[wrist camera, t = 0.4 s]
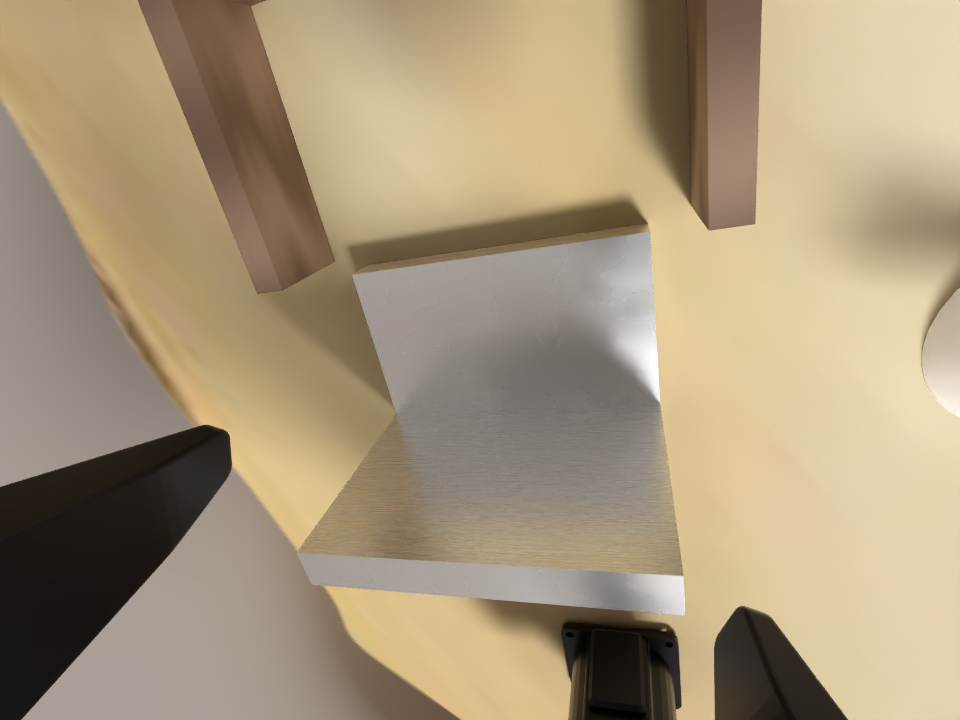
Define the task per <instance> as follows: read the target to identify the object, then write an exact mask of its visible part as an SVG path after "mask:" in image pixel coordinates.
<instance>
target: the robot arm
mask: <svg viewBox="0 0 960 720" xmlns="http://www.w3.org/2000/svg"><path fill="white" fill-rule="evenodd" d="M231 467H232V459H231V446H230V436H229V434H228V432H227V431H225V430H223V429H220V428H217V427H214V426H211V425H202V426H198V427H195V428H191V429H188V430H185V431H182V432H178V433H175V434H172V435H168V436H165V437H162V438H159V439H155V440H152V441H149V442H146V443H142V444H139V445H136V446H133V447H129V448H126V449H123V450H119V451H116V452H113V453H110V454H106V455H103V456H100V457H97V458H94V459H90V460H87V461H84V462H80V463H77V464H74V465H71V466H68V467H64V468H61V469H58V470H54V471H51V472H47V473H44V474H41V475H38V476H35V477H31V478H28V479H25V480H22V481H18V482H15V483H11V484H9V485H5V486H2V487H0V720H21V719H22V718H23V717H24V716H25V715H26V714H27V713H28V711H30V709H31V708H32V707H33V706H34V705H35V704H36V703H37V702H38V700H39V699H40V698H41V697H42V696H43V695H44V694H45V693H46V692H47V690H48V689H49V688H50V687H51V686H52V685H53V684H54V683H55V682H56V681H57V679H58V678H59V677H60V676H61V675H62V674H63V673H64V672H65V671H66V669H67V668H68V667H69V666H70V665H71V664H72V663H73V662H74V661H75V659H76V658H77V657H78V656H79V655H80V654H81V653H82V652H83V650H84V649H85V648H86V647H87V646H88V645H89V644H90V643H91V642H92V640H93V639H94V638H95V637H96V636H97V635H98V634H99V632H101V630H102V629H103V628H104V627H105V626H106V625H107V624H108V623H109V622H110V620H111V619H112V618H113V617H114V616H115V615H116V614H117V613H118V612H119V610H120V609H121V608H122V607H123V606H124V605H125V604H126V603H127V602H128V600H129V599H130V598H131V597H132V596H133V595H134V594H135V593H136V591H137V590H138V589H139V588H140V587H141V586H142V585H143V584H144V583H145V581H146V580H147V579H148V578H149V577H150V576H151V575H152V573H154V572H155V570H156V569H157V568H158V567H159V566H160V565H161V564H162V563H163V561H164V560H165V559H166V558H167V557H168V556H169V555H170V553H171V552H172V551H173V550H174V548H175V547H176V546H177V545H178V543H179V542H180V541H181V540H182V538H183V537H184V536H185V534H186V533H187V532H188V530H189V529H190V528H191V526H192V525H193V524H194V522H195V521H196V520H197V518H198V517H199V516H200V514H201V513H202V512H203V510H204V509H205V508H206V506H207V505H208V503H209V502H210V501H211V499H212V498H213V497H214V495H215V494H216V493H217V491H218V490H219V488H220V487H221V486H222V485H223V483H224V482H225V481H226V479H227V477H228V476H229V474H230V471H231ZM561 634H562V640H563V645H564V650H565V655H566V660H567V665H568V670H569V675H570V680H571V695H570V707H569V719H568V720H677V718H676V709H679V708H680V707H681V705H682V704H681V686H680V667H679V648H678V638H677V636H676V635H675V634H673V633H669V632H661V631H650V630H640V629H629V628H618V627H608V626H597V625H586V624H576V623H565V624H563V625H562V633H561ZM714 682H715V720H848V719H847V718H846V716H845V715H844V714H843V712H842V711H841V710H840V708H839V707H838V706H837V704H836V703H835V702H834V700H833V699H832V698H831V696H830V695H829V694H828V692H827V691H826V690H825V688H824V687H823V686H822V684H821V683H820V682H819V680H818V679H817V678H816V676H815V675H814V674H813V672H812V671H811V670H810V668H809V667H808V666H807V664H806V663H805V662H804V660H803V659H802V658H801V656H800V655H799V654H798V652H797V651H796V650H795V648H794V647H793V646H792V644H791V643H790V642H789V640H788V639H787V638H786V636H785V635H784V634H783V632H782V631H781V630H780V628H779V627H778V626H777V624H776V623H775V622H774V620H773V619H772V618H771V617H770V616H769V615H767V614H765V613H763V612H760V611H757V610H754V609H751V608H748V607H745V606H741V607H738V608H737V609H736V610H735V611H734V612H733V614H732V615H731V617H730V618H729V620H728V621H727V622H726V624H725V625H724V627H723V628H722V629H721V631H720V632H719V634H718V636H717V638H716V641H715V646H714Z"/></svg>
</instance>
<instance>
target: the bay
mask: <svg viewBox="0 0 960 720" xmlns="http://www.w3.org/2000/svg"><path fill="white" fill-rule="evenodd" d="M263 1H265V0H138V2H139V5H140V7H141V10H142V12H143V15H144V17H145V20H146V22H147V24H148V27H149V29H150V32H151V34H152V37H153V39H154V42H155V44H156V47H157V49H158V51H159V54H160V56H161V59H162V61H163V64H164V66H165V69H166V71H167V73H168V76H169V78H170V81H171V83H172V86H173V88H174V91H175V93H176V96H177V98H178V100H179V103H180V105H181V108H182V110H183V113H184V115H185V118H186V120H187V122H188V125H189V127H190V130H191V132H192V135H193V137H194V140H195V142H196V145H197V147H198V149H199V152H200V154H201V157H202V159H203V162H204V164H205V167H206V169H207V171H208V174H209V176H210V179H211V181H212V184H213V186H214V189H215V191H216V193H217V196H218V198H219V201H220V203H221V206H222V208H223V211H224V213H225V216H226V218H227V220H228V223H229V225H230V228H231V230H232V233H233V235H234V238H235V240H236V242H237V245H238V247H239V250H240V252H241V255H242V257H243V260H244V262H245V265H246V267H247V269H248V272H249V274H250V277H251V279H252V282H253V284H254V287H255V289H256V291H257V294H260V293H267V292H274V291H281V290H284V289H286V288H288V287H290V286H291V285H293V284H295V283H297V282H299V281H300V280H302V279H304V278H306V277H308V276H309V275H311V274H313V273H315V272H317V271H319V270H320V269H322V268H324V267H326V266H328V265H329V264H331V263H333V262H335V261H334V258H333V255H332V252H331V249H330V246H329V243H328V240H327V237H326V234H325V231H324V228H323V225H322V222H321V219H320V216H319V212H318V209H317V206H316V203H315V200H314V197H313V194H312V191H311V188H310V185H309V182H308V179H307V176H306V173H305V170H304V167H303V164H302V161H301V158H300V155H299V152H298V149H297V146H296V143H295V140H294V137H293V134H292V131H291V128H290V125H289V122H288V119H287V116H286V113H285V110H284V107H283V104H282V101H281V98H280V95H279V91H278V88H277V85H276V82H275V79H274V76H273V73H272V70H271V67H270V64H269V61H268V58H267V55H266V52H265V49H264V46H263V43H262V40H261V37H260V34H259V31H258V28H257V25H256V22H255V19H254V16H253V13H252V10H251V7H250V6H252V5H254V4H257V3H260V2H263ZM761 10H762V0H687V37H688V81H689V124H690V167H691V206H692V207H693V209H694V210H695V212H696V213H697V215H698V216H699V217H700V219H701V220H702V222H703V223H704V224H705V226H706V227H707V229H708V230H716V229H723V228H730V227H737V226H744V225H752V224H755V213H756V179H757V145H758V111H759V78H760V44H761Z"/></svg>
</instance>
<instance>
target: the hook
mask: <svg viewBox="0 0 960 720" xmlns="http://www.w3.org/2000/svg"><path fill="white" fill-rule="evenodd" d="M922 369H923V374H924V378H925V382H926V384H927V386H928V387H929V389H930V391H931V393H932V394H933V396H934V398H935V399H936V400H937V401H938V402H939V403H940V404H941V405H942V406H943V407H944V408H945V409H946V410H948V411H949V412H951V413H953V414H954V415H956V416H958V417H959V418H960V288H959V289H958V290H956V291H955V293H954V294H953V295H952V296H951V297H950V298H949V300H948V301H947V302H946V303H945V304H944V305H943V307H942V308H941V309H940V310H939V312H938V314H937V315H936V317H935V319H934V321H933V322H932V324H931V326H930V328H929V330H928V333H927V336H926V339H925V342H924V345H923V350H922Z"/></svg>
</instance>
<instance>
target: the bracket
mask: <svg viewBox="0 0 960 720" xmlns="http://www.w3.org/2000/svg"><path fill="white" fill-rule="evenodd" d="M352 277H353V280H354V284H355V287H356V290H357V293H358V296H359V299H360V302H361V305H362V309H363V312H364V315H365V318H366V321H367V324H368V327H369V330H370V334H371V337H372V340H373V343H374V346H375V349H376V352H377V356H378V359H379V362H380V365H381V368H382V371H383V374H384V377H385V381H386V384H387V387H388V390H389V393H390V396H391V399H392V402H393V406H394V409H395V412H396V415H395V417H394V418H393V420H392V421H391V422H390V424H389V425H388V426H387V428H386V429H385V431H384V432H383V433H382V435H381V436H380V438H379V439H378V440H377V442H376V443H375V445H374V446H373V447H372V449H371V450H370V451H369V453H368V454H367V456H366V457H365V458H364V460H363V461H362V463H361V464H360V465H359V467H358V468H357V470H356V471H355V472H354V474H353V475H352V476H351V478H350V479H349V481H348V482H347V483H346V485H345V486H344V488H343V489H342V490H341V492H340V493H339V494H338V496H337V497H336V499H335V500H334V501H333V503H332V504H331V506H330V507H329V508H328V510H327V511H326V513H325V514H324V515H323V517H322V518H321V519H320V521H319V522H318V524H317V525H316V526H315V528H314V529H313V531H312V532H311V533H310V535H309V536H308V538H307V539H306V540H305V542H304V543H303V544H302V546H301V547H300V549H299V550H298V551H297V555H298V557H299V559H300V561H301V564H302V565H303V568H304V569H305V572H306V574H307V576H308V578H309V580H310V582H311V584H312V585H323V586H335V587H347V588H359V589H371V590H383V591H395V592H408V593H420V594H432V595H444V596H456V597H468V598H480V599H492V600H504V601H516V602H528V603H540V604H552V605H564V606H576V607H589V608H601V609H613V610H625V611H637V612H649V613H661V614H673V615H685V599H684V576H683V569H682V561H681V554H680V546H679V539H678V532H677V524H676V517H675V510H674V502H673V495H672V487H671V480H670V473H669V465H668V458H667V451H666V443H665V436H664V428H663V421H662V414H661V406H660V393H659V376H658V359H657V341H656V324H655V307H654V290H653V273H652V255H651V238H650V229H649V225H648V223H647V224H640V225H634V226H627V227H620V228H613V229H607V230H600V231H593V232H587V233H580V234H573V235H567V236H560V237H553V238H547V239H540V240H533V241H527V242H520V243H513V244H507V245H500V246H493V247H487V248H480V249H473V250H467V251H460V252H453V253H446V254H440V255H433V256H426V257H420V258H413V259H406V260H400V261H393V262H386V263H380V264H373V265H367V266H365V267H363V268H362V269H360V270H359V271H357V272H356V273H354V274H352Z"/></svg>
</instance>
